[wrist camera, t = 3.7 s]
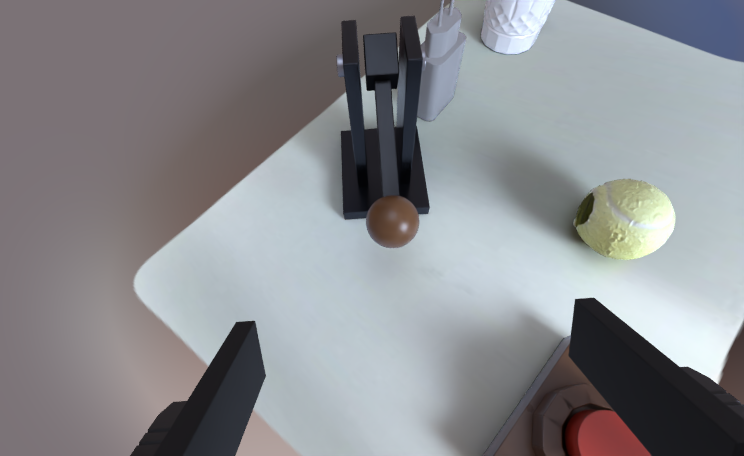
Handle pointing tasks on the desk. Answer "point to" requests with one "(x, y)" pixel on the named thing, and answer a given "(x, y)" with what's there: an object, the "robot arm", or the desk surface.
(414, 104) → the bracket
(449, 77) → the power adapter
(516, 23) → the white cup
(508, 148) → the desk surface
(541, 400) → the button block
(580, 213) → the tennis ball
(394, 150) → the lever
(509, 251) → the desk surface
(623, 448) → the button
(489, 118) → the desk surface
